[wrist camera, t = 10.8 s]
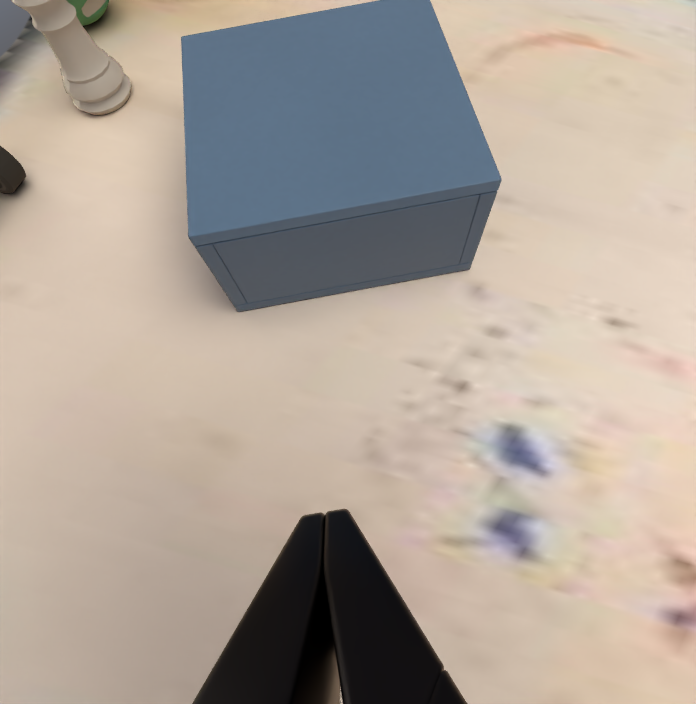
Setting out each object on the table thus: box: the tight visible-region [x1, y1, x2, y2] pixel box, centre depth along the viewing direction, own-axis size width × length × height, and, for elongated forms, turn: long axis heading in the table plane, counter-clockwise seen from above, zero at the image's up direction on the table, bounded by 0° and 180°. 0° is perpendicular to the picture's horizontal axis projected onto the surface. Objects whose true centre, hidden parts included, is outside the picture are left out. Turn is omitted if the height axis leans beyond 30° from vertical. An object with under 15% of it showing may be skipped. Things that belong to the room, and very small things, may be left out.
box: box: [195, 191, 497, 312], centre depth 24 cm, size 13×14×6 cm
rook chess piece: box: [11, 0, 131, 115], centre depth 29 cm, size 4×4×8 cm
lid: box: [181, 0, 501, 246], centre depth 21 cm, size 14×14×1 cm
